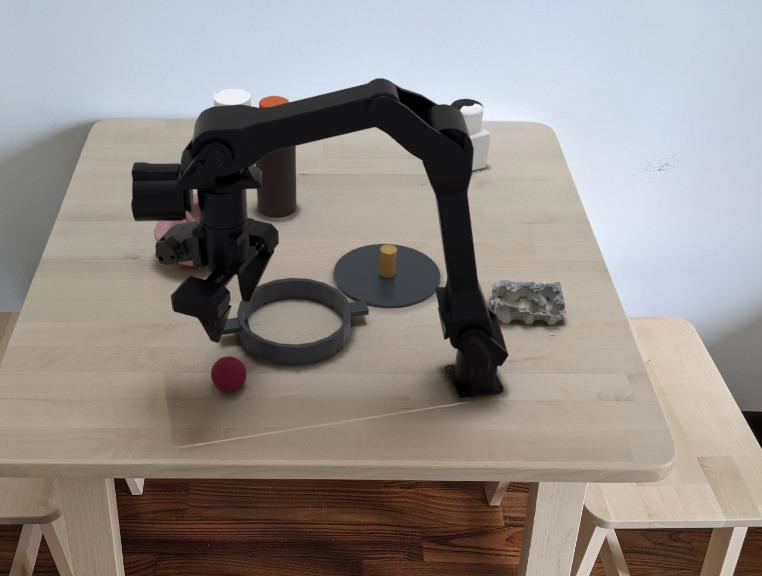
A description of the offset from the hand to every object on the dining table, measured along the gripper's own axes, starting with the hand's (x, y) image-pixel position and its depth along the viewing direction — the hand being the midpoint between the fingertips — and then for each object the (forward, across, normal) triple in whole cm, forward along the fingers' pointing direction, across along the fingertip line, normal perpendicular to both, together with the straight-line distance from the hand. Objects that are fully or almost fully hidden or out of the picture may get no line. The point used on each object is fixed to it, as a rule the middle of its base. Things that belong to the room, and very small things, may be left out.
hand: (231, 320), depth 118 cm
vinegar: (+11, -44, -13) cm, 47 cm away
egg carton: (+11, -31, +34) cm, 47 cm away
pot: (+11, -14, +3) cm, 18 cm away
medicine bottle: (+11, -72, +12) cm, 74 cm away
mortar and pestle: (+11, -25, -19) cm, 34 cm away
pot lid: (+10, -32, +11) cm, 35 cm away
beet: (+11, +1, 0) cm, 11 cm away
